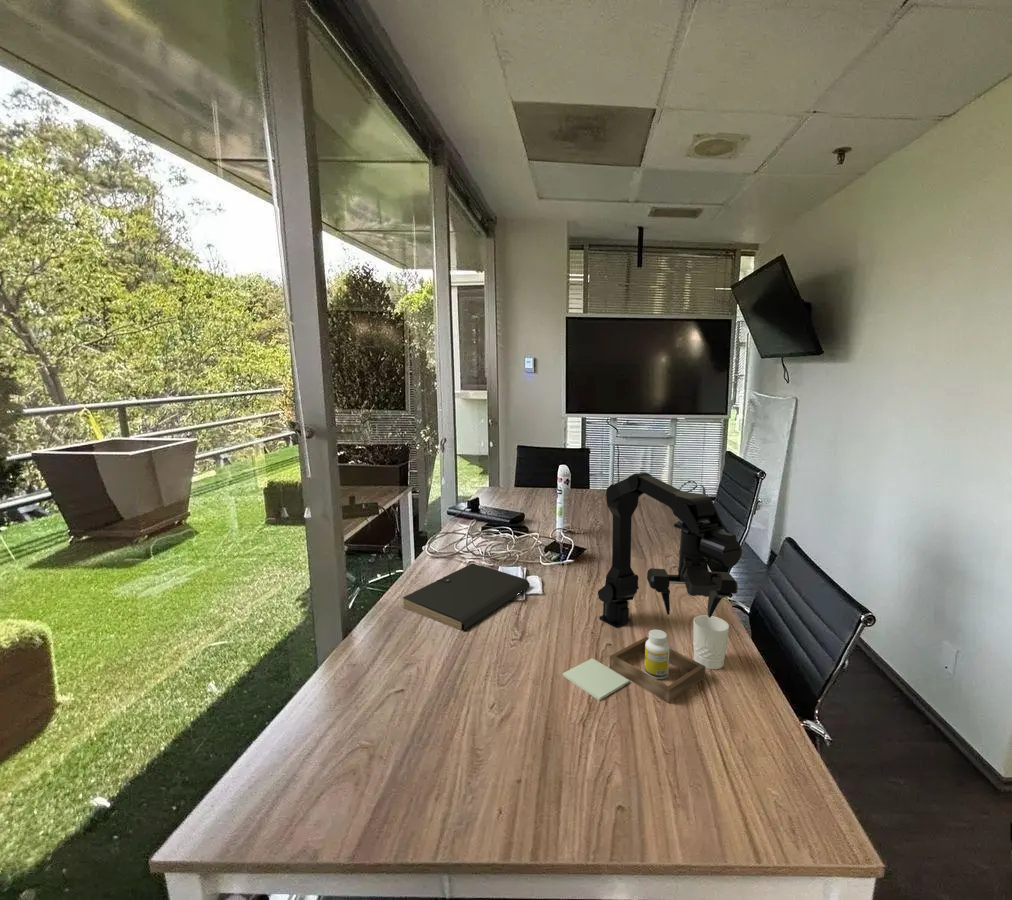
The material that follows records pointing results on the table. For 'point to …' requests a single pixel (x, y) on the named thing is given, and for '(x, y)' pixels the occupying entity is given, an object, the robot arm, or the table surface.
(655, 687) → the wooden frame
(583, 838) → the table surface
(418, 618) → the table surface
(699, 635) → the white cup
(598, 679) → the sage tile
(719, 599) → the robot arm
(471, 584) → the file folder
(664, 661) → the supplement bottle
